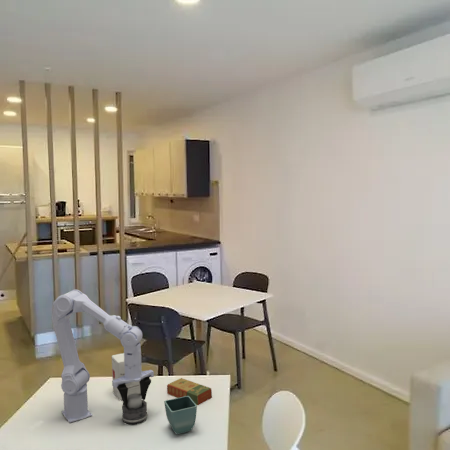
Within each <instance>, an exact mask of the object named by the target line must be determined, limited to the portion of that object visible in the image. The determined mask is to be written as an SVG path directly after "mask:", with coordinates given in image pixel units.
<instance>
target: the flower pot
mask: <svg viewBox="0 0 450 450" xmlns="http://www.w3.org/2000/svg"><path fill="white" fill-rule="evenodd" d="M163 402H164V411H165V416H166V418H167V421H168V423H169V425H170V427H171V429H172V430H173V432H174V433H175V434H176V435H180V434H183V433H187V432H188V433H189V432H191V431H192V430H193V428H194V426H195V424H196V419H197V412H198V411H197V409H198V405H196V404H195V403H194V402H193V400H192V399H191V398H190V397H189V396H184V397H180V398H177V397H174V398H172V399H166V400H164V401H163Z"/></svg>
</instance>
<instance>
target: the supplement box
mask: <svg viewBox="0 0 450 450" xmlns="http://www.w3.org/2000/svg"><path fill="white" fill-rule="evenodd" d="M111 371H112V372H111V374H112V380H115V379H118V378H120V377H122V376H124V375H125V367H124V352H123V353H117V354H113V355H111ZM125 385H126V387H127V388H128V393H127V396H128V395H130V394H134V393H139V394H141V393H140V382H139V381H138V382H135V381H134V382H130V383H127V384H125ZM113 392H114V393H113ZM112 393H113V394H114V395H115V397H116V398H117V399H118V400H119V401H120V400H121V401H122V397H121V395H120V392H119V390H118V389H117V387H116V388H114V387H113V386H112Z"/></svg>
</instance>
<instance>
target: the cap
mask: <svg viewBox="0 0 450 450" xmlns="http://www.w3.org/2000/svg"><path fill="white" fill-rule="evenodd" d="M127 400H128V405H127V409H137V408H141V407H142V400H143V399H142V395H141V394H139V393H134V394H130V395H128V396H127Z"/></svg>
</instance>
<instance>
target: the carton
mask: <svg viewBox="0 0 450 450" xmlns="http://www.w3.org/2000/svg"><path fill="white" fill-rule="evenodd" d="M166 392H167V395H169V396H171V397H173V398H180V397H184V396H189V397H190V398H191V399H192V400H193V402H194V403H195V404H196V405H197V406H199V405H202V404H203V403H205V402H206V401H208V400H210V399H212V398H213V397H212V394H213V393H212V392H213V391H212V387H209V386H206V385H203V384H200V383H197V382H194V381H191V380H189V379H186V378H183V377H181V378H178V379H176V380H173V381H172V382H169V383H168V384H167V385H166Z"/></svg>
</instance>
